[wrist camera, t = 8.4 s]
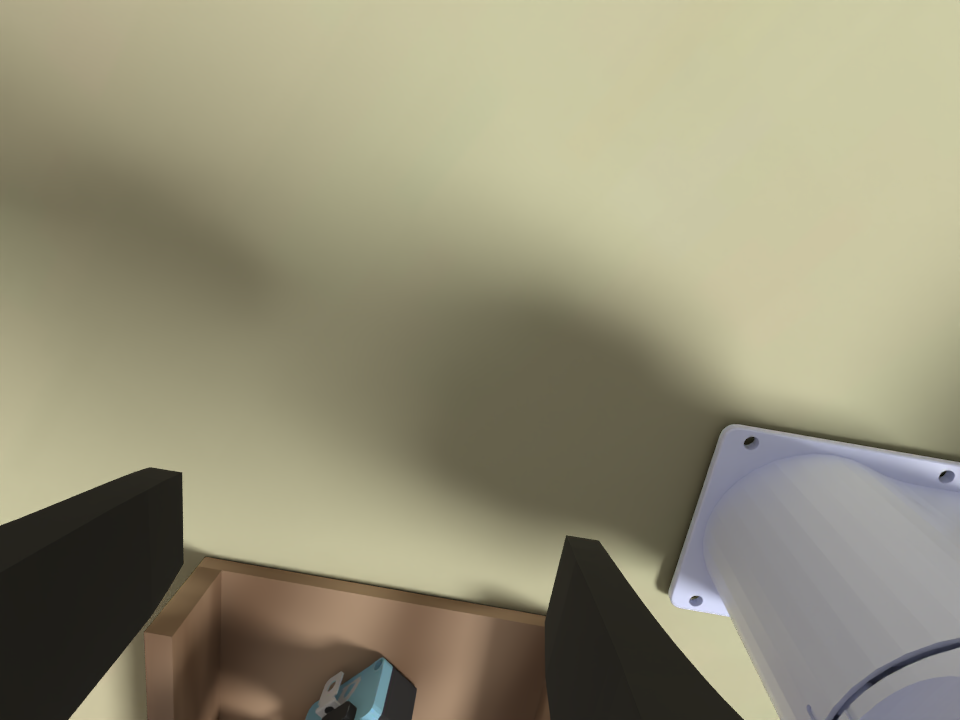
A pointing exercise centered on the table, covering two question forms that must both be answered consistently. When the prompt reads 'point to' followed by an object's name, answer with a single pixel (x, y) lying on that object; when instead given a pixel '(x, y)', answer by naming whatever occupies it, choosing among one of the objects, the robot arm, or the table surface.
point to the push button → (367, 696)
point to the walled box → (334, 648)
